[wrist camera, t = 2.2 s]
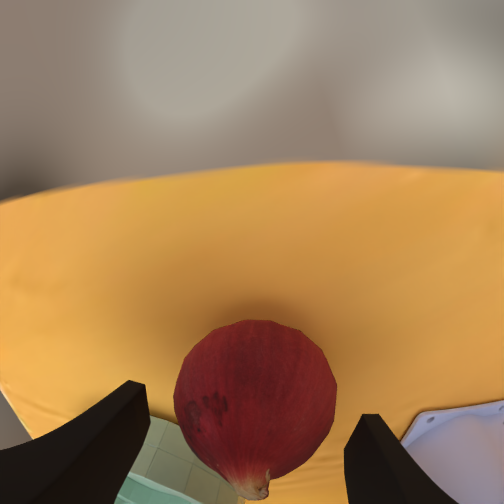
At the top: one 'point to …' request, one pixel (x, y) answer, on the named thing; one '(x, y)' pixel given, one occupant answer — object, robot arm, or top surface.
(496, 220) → the top surface
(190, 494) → the bowl
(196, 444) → the onion
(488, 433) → the robot arm
